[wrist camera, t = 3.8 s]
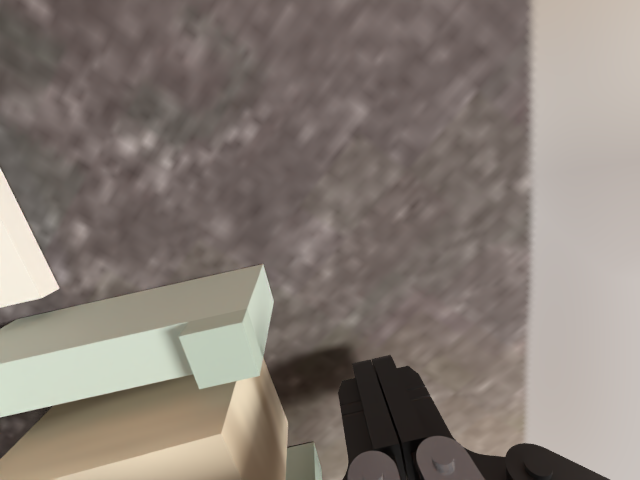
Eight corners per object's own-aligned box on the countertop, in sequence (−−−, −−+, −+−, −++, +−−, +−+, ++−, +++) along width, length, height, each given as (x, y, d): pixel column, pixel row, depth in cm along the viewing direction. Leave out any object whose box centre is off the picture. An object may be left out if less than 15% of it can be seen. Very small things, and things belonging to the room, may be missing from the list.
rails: (17, 319, 12) (-136, 406, 8) (263, 263, 12) (242, 322, 8) (123, 512, 14) (53, 651, 10) (321, 468, 14) (328, 590, 10)
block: (87, 371, 13) (-46, 505, 8) (252, 325, 12) (221, 433, 8) (139, 461, 14) (53, 623, 9) (288, 420, 14) (281, 563, 9)
